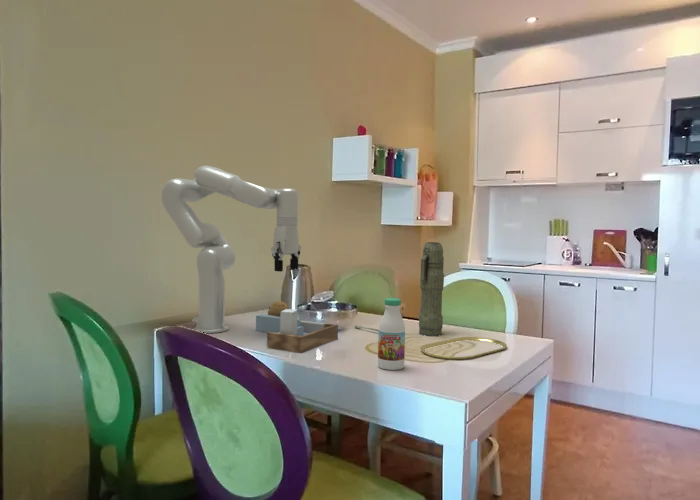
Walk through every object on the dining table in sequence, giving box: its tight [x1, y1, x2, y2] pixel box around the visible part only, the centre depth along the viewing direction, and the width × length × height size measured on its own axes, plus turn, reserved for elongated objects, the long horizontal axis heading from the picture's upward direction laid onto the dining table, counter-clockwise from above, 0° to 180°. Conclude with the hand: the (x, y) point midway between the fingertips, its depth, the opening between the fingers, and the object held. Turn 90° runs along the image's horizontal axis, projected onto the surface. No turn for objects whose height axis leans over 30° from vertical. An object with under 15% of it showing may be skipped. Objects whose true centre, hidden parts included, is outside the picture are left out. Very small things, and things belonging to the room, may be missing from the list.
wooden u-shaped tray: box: [266, 322, 339, 354], centre depth 180 cm, size 13×24×5 cm, turn 153°
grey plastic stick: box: [300, 319, 330, 334], centre depth 197 cm, size 12×3×4 cm, turn 66°
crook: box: [255, 313, 305, 336], centre depth 187 cm, size 20×20×6 cm
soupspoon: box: [354, 325, 379, 333], centre depth 199 cm, size 22×3×7 cm
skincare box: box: [280, 308, 298, 336], centre depth 175 cm, size 6×4×12 cm
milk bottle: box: [377, 297, 406, 371], centre depth 152 cm, size 8×8×20 cm
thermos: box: [418, 241, 445, 337], centre depth 199 cm, size 9×12×35 cm
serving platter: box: [420, 336, 508, 361], centre depth 176 cm, size 19×35×2 cm, turn 132°
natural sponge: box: [267, 300, 290, 317], centre depth 208 cm, size 9×9×10 cm
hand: (286, 270), depth 189 cm, fingers open, 9 cm apart
